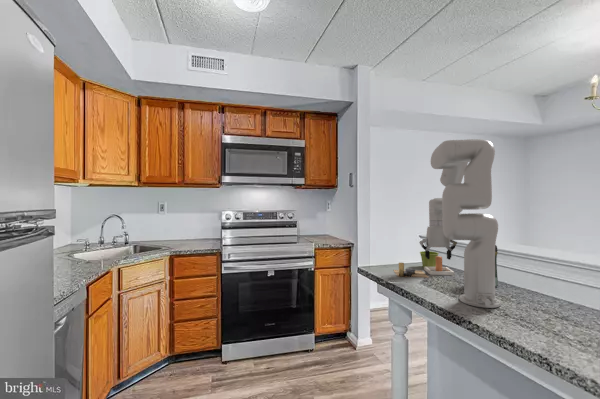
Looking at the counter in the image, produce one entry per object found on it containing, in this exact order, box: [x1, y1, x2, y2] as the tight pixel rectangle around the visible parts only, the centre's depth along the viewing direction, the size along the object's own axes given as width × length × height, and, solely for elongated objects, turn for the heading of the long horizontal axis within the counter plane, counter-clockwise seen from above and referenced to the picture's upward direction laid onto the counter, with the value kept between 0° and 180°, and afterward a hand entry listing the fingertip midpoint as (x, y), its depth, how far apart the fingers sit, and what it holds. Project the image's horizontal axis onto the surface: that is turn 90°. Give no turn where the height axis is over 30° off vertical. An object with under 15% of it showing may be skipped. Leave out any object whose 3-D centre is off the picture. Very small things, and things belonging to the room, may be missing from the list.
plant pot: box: [419, 250, 439, 268], centre depth 161 cm, size 9×9×9 cm
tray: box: [423, 266, 456, 278], centre depth 149 cm, size 11×11×2 cm
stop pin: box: [435, 255, 443, 271], centre depth 149 cm, size 3×3×8 cm
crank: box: [398, 262, 416, 276], centre depth 144 cm, size 11×4×6 cm, turn 131°
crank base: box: [393, 269, 430, 279], centre depth 147 cm, size 14×14×3 cm
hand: (438, 258), depth 149 cm, fingers open, 9 cm apart
